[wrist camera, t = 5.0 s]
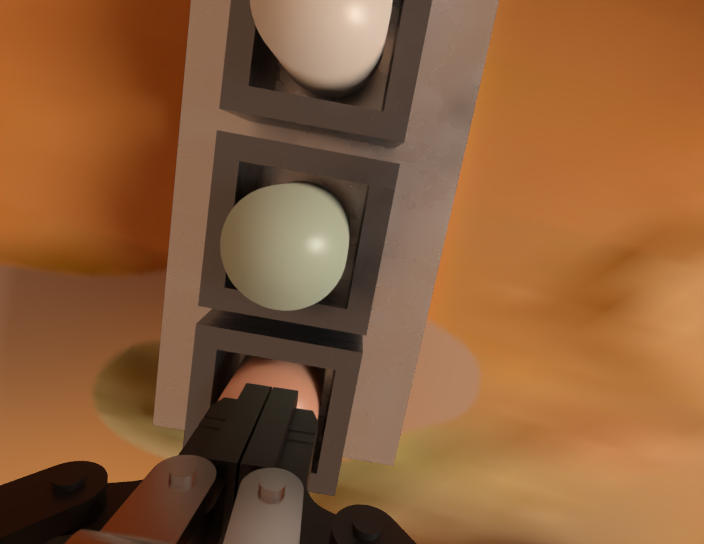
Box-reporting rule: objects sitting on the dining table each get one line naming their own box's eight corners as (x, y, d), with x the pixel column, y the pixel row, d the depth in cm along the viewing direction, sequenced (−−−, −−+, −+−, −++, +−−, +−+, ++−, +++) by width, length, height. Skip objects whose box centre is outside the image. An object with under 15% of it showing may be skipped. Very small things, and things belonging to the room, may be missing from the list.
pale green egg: (358, 190, 20) (357, 197, 15) (341, 285, 21) (335, 320, 16) (260, 172, 20) (227, 173, 15) (247, 268, 21) (213, 299, 16)
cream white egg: (393, -8, 18) (405, -71, 14) (373, 105, 19) (378, 85, 15) (286, -29, 18) (259, -100, 13) (271, 86, 19) (241, 59, 14)
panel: (499, -23, 22) (551, -94, 16) (392, 455, 27) (400, 533, 22) (206, -80, 21) (148, -174, 15) (160, 415, 27) (104, 483, 21)
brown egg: (331, 341, 24) (323, 386, 19) (318, 416, 25) (307, 476, 20) (248, 327, 24) (218, 367, 19) (238, 402, 25) (207, 459, 20)
